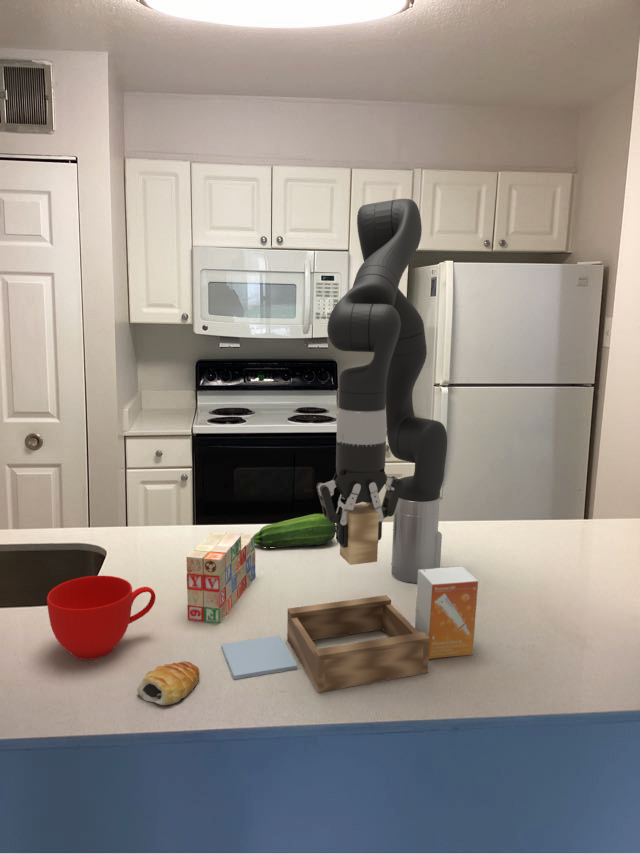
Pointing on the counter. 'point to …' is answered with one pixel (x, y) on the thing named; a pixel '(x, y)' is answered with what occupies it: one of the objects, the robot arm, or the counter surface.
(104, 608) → the ceramic cup
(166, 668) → the pastry
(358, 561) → the block
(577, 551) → the counter surface
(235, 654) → the pad
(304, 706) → the counter surface
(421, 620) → the small box
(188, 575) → the stack of blocks
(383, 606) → the crate
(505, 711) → the counter surface
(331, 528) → the vegetable
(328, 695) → the counter surface
